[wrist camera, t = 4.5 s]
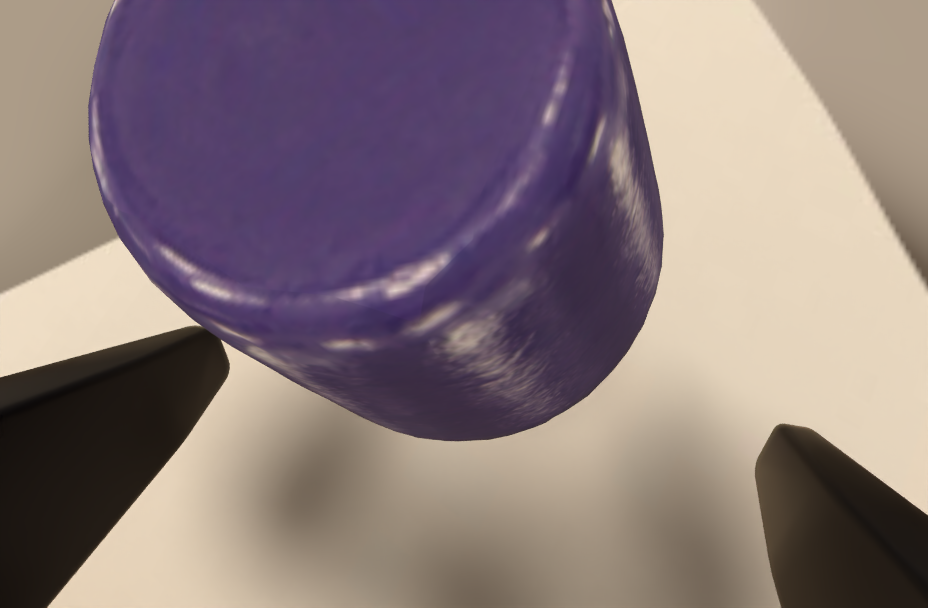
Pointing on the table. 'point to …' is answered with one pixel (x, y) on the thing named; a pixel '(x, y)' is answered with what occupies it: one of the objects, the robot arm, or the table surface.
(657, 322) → the table surface
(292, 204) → the toy lamp
